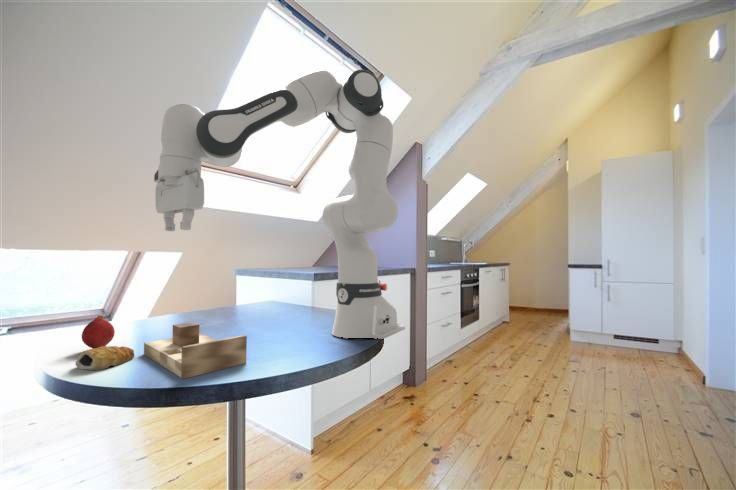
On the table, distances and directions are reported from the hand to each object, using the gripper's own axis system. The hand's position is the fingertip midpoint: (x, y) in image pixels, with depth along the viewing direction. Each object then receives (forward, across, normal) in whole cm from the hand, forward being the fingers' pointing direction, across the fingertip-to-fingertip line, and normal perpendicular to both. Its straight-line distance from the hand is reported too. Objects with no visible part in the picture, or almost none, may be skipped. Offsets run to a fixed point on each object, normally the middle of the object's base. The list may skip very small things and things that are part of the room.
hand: (177, 230), depth 82 cm
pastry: (+28, -3, +13) cm, 32 cm away
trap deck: (+28, -13, 0) cm, 30 cm away
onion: (+28, +9, +12) cm, 32 cm away
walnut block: (+25, -9, 0) cm, 27 cm away
